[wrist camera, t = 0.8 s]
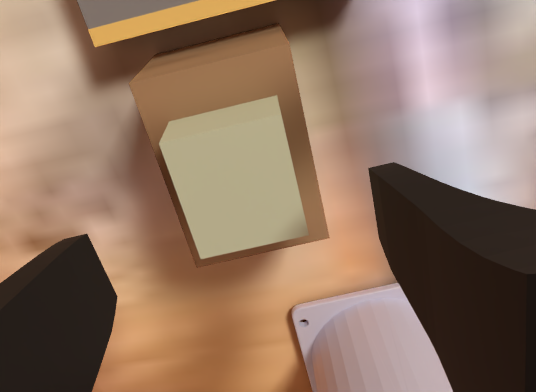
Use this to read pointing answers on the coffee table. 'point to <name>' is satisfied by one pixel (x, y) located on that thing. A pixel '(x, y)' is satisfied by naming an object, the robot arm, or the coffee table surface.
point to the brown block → (226, 95)
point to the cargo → (235, 177)
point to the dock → (149, 15)
